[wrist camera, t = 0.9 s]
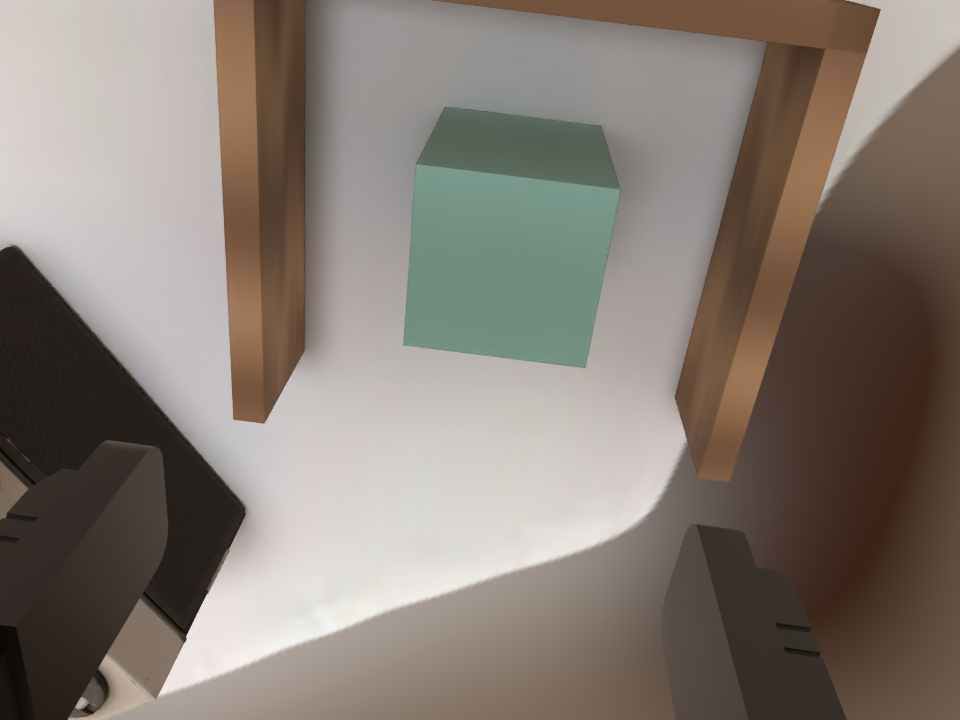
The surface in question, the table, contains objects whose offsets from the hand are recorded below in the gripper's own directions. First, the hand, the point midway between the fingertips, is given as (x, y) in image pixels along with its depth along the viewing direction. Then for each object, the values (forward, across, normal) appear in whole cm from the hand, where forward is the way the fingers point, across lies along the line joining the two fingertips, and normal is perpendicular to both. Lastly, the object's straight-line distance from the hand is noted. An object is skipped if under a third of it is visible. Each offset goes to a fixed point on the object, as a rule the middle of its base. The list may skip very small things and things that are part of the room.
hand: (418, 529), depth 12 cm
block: (+17, -1, 0) cm, 17 cm away
